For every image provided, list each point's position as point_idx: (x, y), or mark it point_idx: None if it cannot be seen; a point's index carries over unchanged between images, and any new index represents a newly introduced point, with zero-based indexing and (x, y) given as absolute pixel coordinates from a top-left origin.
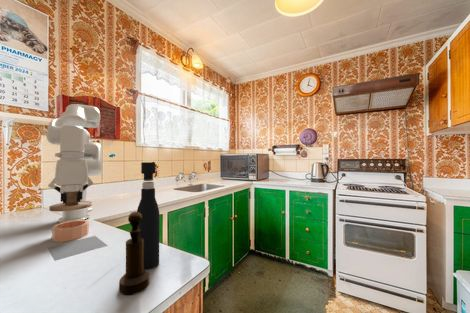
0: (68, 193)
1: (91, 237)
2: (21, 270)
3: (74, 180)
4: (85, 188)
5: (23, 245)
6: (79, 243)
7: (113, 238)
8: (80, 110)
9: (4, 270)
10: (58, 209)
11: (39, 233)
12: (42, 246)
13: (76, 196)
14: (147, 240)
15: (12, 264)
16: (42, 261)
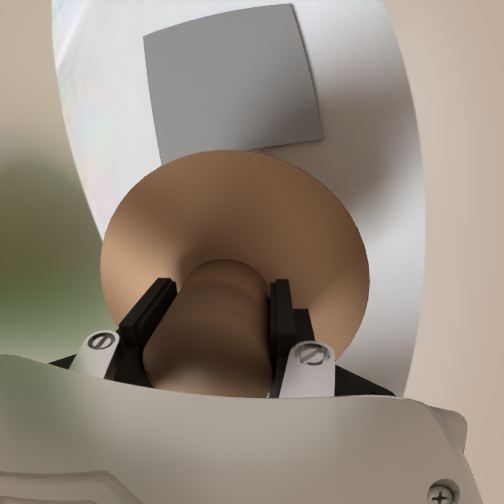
0: (238, 325)
1: (175, 152)
2: (361, 14)
3: (78, 443)
4: (67, 359)
5: (387, 244)
6: (219, 104)
7: (113, 111)
8: None
9: (398, 45)
10: (317, 180)
11: None
12: (338, 183)
13: (170, 305)
14: None
15: (393, 71)
16: (323, 32)
